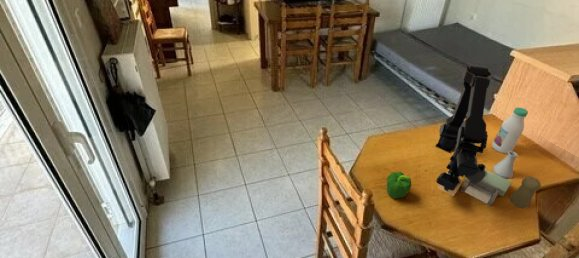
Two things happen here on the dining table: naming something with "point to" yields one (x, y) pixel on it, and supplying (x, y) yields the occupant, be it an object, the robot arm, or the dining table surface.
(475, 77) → the robot arm
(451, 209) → the dining table surface
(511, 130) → the milk bottle
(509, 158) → the flask
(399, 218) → the dining table surface
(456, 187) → the tan and grey block
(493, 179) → the sage green knobbed slab
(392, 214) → the dining table surface
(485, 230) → the dining table surface
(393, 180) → the bell pepper
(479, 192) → the bracket
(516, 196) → the olive pepper mill
